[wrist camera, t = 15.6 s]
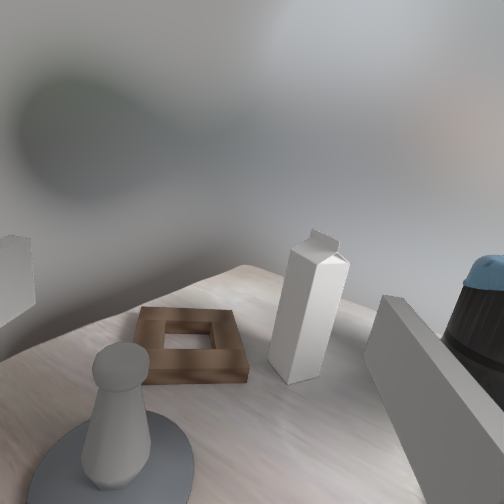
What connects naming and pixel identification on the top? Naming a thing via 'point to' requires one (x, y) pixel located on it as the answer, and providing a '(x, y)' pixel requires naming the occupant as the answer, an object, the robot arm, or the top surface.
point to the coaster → (137, 491)
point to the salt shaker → (118, 418)
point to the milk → (307, 307)
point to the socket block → (191, 360)
